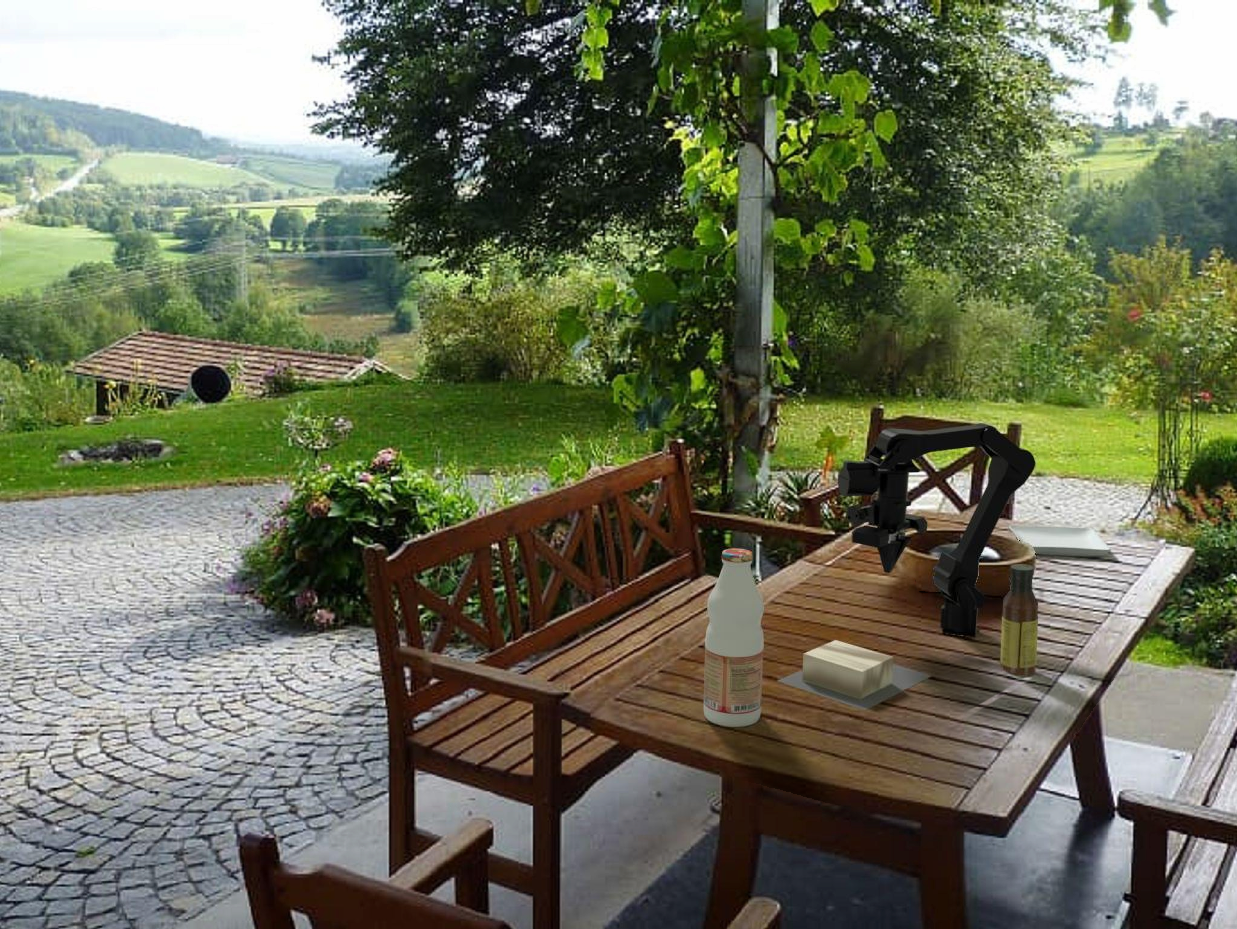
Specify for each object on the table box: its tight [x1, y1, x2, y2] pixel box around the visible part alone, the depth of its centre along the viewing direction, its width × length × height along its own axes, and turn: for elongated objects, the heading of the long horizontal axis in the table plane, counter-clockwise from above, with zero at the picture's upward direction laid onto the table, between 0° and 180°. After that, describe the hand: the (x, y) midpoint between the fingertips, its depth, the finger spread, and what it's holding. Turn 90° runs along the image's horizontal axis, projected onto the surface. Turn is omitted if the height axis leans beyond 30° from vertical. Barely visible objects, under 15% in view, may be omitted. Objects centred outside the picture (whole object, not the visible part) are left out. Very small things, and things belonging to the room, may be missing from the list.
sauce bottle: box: [999, 563, 1039, 677], centre depth 211 cm, size 7×6×20 cm
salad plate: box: [1008, 525, 1111, 558], centre depth 298 cm, size 21×21×3 cm
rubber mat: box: [776, 663, 932, 711], centre depth 208 cm, size 22×18×1 cm
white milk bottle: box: [703, 547, 765, 728], centre depth 189 cm, size 9×9×28 cm
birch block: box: [802, 639, 894, 700], centre depth 205 cm, size 5×12×10 cm
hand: (887, 572), depth 229 cm, fingers closed
